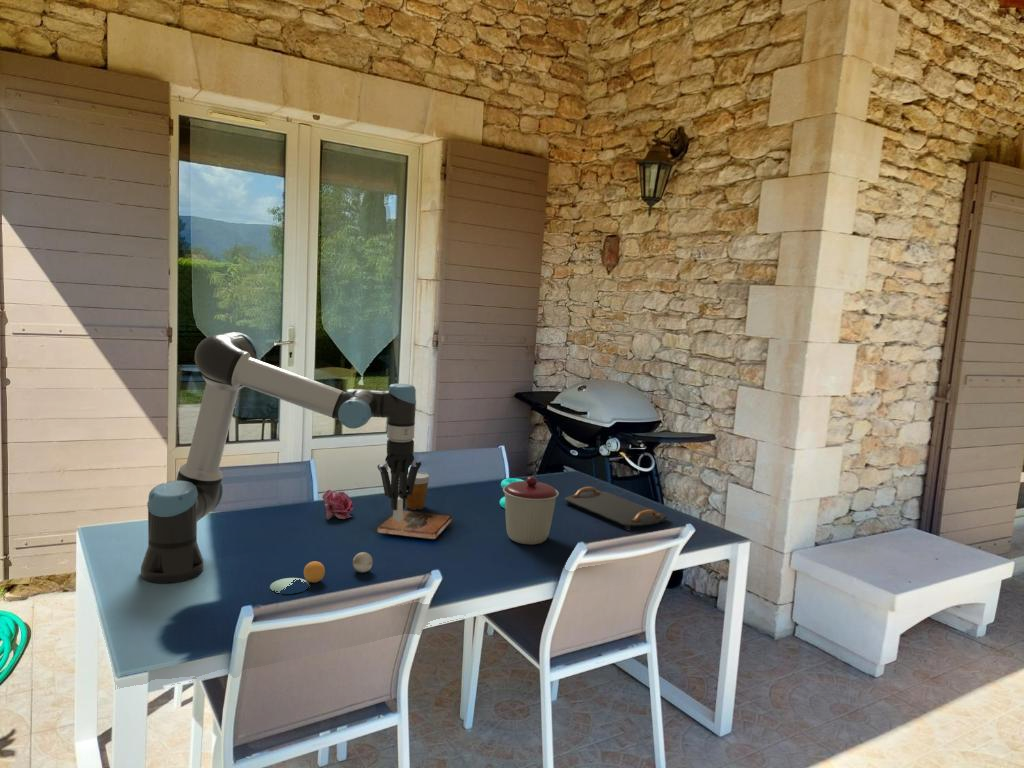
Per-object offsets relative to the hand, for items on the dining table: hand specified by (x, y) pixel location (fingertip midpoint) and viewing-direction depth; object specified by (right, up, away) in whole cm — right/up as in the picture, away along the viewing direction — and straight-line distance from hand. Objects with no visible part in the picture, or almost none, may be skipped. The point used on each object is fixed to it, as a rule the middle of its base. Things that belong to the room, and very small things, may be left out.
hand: (397, 519), depth 203 cm
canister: (+38, -12, +30) cm, 50 cm away
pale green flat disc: (-25, -14, -16) cm, 34 cm away
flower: (-27, -6, +39) cm, 48 cm away
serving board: (+71, -10, +64) cm, 96 cm away
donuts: (+33, -7, +63) cm, 71 cm away
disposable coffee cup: (-2, -6, +54) cm, 55 cm away
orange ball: (-20, -11, -13) cm, 27 cm away
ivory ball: (-9, -11, -4) cm, 15 cm away
